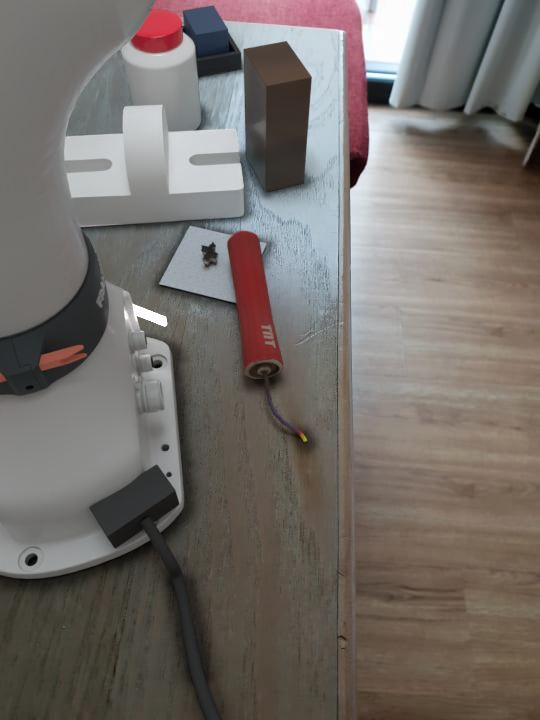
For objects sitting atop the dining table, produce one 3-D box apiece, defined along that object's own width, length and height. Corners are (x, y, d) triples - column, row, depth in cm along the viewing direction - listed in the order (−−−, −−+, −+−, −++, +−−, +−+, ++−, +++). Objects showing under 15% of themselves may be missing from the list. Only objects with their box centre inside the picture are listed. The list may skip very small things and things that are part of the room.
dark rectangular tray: (241, 69, 77) (241, 52, 75) (192, 78, 75) (191, 62, 74) (221, 35, 81) (220, 19, 79) (174, 43, 80) (172, 27, 78)
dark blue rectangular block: (229, 61, 77) (228, 29, 73) (198, 66, 76) (196, 34, 72) (215, 37, 80) (213, 5, 76) (185, 42, 79) (182, 10, 76)
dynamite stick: (219, 248, 57) (246, 446, 47) (235, 225, 55) (267, 427, 44) (261, 259, 59) (296, 450, 49) (278, 237, 57) (318, 433, 47)
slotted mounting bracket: (71, 165, 66) (47, 89, 59) (237, 155, 67) (234, 80, 60) (64, 228, 61) (37, 153, 53) (244, 216, 62) (242, 141, 55)
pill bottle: (198, 141, 69) (189, 44, 59) (129, 139, 69) (109, 42, 59) (204, 100, 73) (196, 4, 64) (139, 98, 73) (122, 2, 64)
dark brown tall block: (304, 183, 65) (312, 76, 55) (265, 192, 64) (266, 85, 54) (282, 147, 68) (286, 40, 58) (245, 155, 67) (243, 48, 57)
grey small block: (241, 304, 55) (240, 290, 54) (158, 284, 56) (155, 270, 55) (266, 243, 60) (267, 229, 58) (189, 226, 61) (188, 211, 59)
